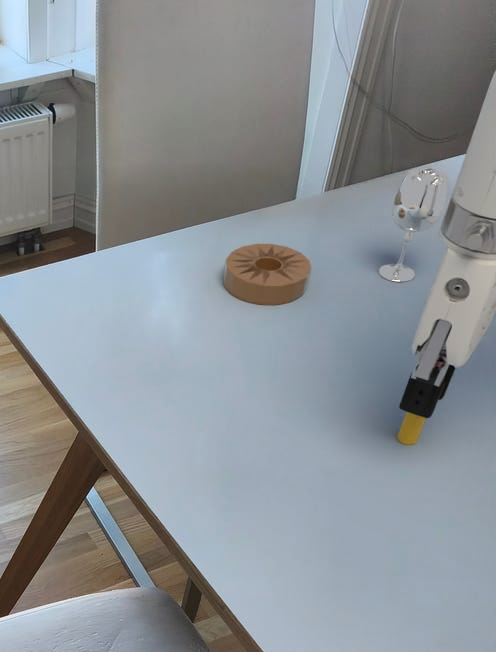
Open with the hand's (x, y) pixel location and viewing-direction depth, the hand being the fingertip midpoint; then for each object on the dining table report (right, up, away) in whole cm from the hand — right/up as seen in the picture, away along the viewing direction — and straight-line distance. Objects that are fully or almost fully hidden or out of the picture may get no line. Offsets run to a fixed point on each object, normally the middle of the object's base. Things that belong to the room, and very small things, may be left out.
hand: (421, 402), depth 89 cm
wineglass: (+8, +23, +25) cm, 35 cm away
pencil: (0, -3, +4) cm, 5 cm away
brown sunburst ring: (-9, +22, +24) cm, 34 cm away
